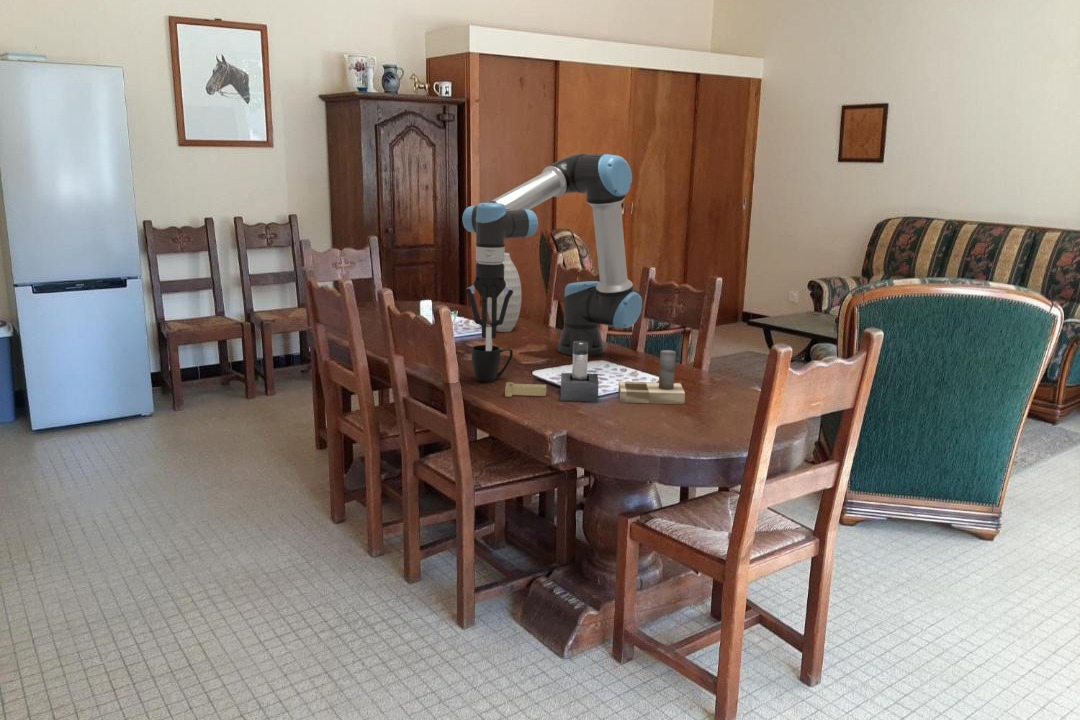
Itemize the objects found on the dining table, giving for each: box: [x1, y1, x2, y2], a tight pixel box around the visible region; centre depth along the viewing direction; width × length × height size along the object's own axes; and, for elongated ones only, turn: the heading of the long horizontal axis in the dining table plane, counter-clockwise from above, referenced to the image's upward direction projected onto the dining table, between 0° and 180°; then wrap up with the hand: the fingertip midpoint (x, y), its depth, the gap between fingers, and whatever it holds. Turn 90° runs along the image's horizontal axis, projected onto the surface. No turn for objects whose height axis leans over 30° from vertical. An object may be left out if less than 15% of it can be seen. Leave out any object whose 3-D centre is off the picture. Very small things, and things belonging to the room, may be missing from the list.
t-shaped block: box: [504, 381, 547, 398], centre depth 234 cm, size 6×11×2 cm, turn 88°
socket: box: [559, 372, 600, 403], centre depth 233 cm, size 10×10×5 cm
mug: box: [471, 344, 514, 384], centre depth 247 cm, size 8×12×10 cm
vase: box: [487, 252, 522, 333], centre depth 310 cm, size 13×13×28 cm
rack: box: [618, 349, 686, 405], centre depth 232 cm, size 10×17×13 cm, turn 88°
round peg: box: [571, 341, 589, 381], centre depth 232 cm, size 4×4×15 cm
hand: (488, 349), depth 231 cm, fingers closed
